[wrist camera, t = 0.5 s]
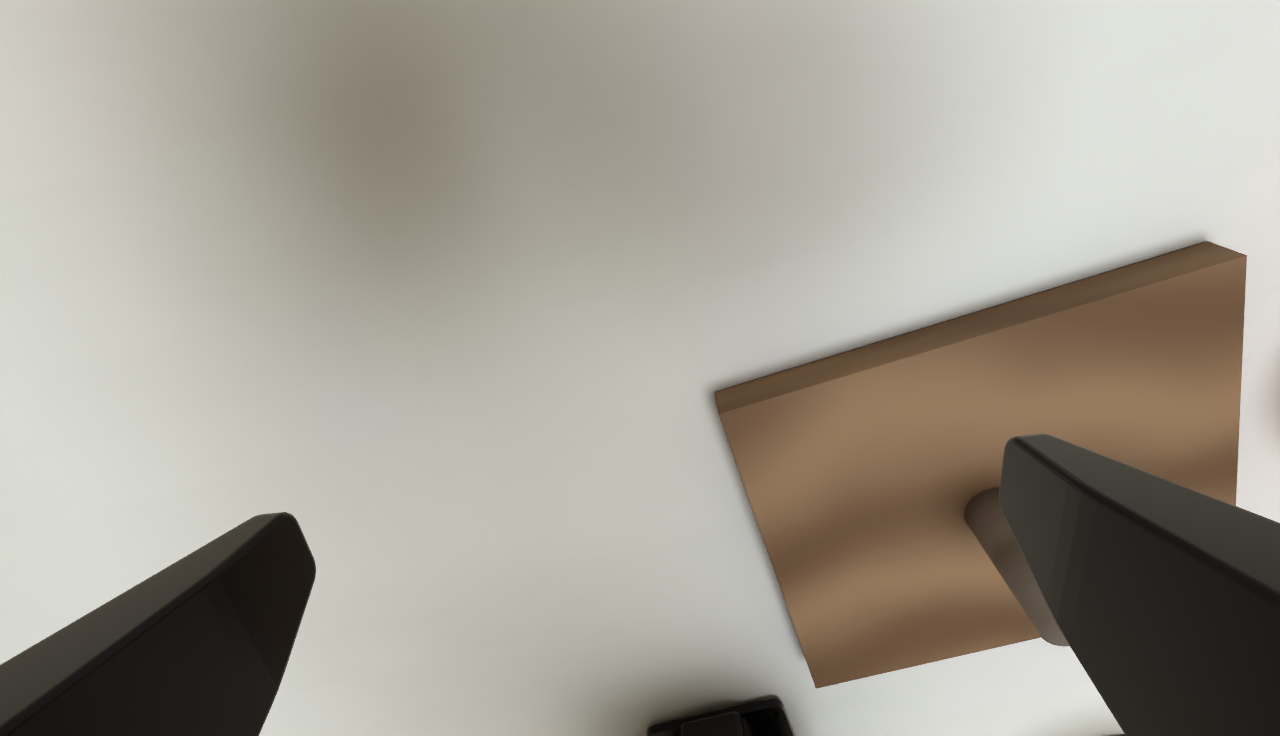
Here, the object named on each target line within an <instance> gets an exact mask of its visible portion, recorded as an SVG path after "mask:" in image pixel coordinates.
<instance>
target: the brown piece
mask: <svg viewBox="0 0 1280 736" xmlns="http://www.w3.org/2000/svg"><path fill="white" fill-rule="evenodd" d="M1246 259H1247V255H1244V254H1241V253H1238V252H1236V251H1233V250H1230V249H1227V248H1225V247H1222V246H1219V245H1217V244H1214V243H1211V242H1208V241H1207V242H1204V243H1201V244H1197V245H1194V246H1191V247H1188V248H1184V249H1181V250H1178V251H1175V252H1171V253H1168V254H1165V255H1161V256H1158V257H1155V258H1152V259H1148V260H1145V261H1142V262H1139V263H1135V264H1132V265H1129V266H1126V267H1122V268H1119V269H1116V270H1112V271H1109V272H1106V273H1103V274H1099V275H1096V276H1093V277H1090V278H1086V279H1083V280H1080V281H1077V282H1073V283H1070V284H1067V285H1063V286H1060V287H1057V288H1054V289H1050V290H1047V291H1044V292H1041V293H1037V294H1034V295H1031V296H1028V297H1024V298H1021V299H1018V300H1014V301H1011V302H1008V303H1005V304H1001V305H998V306H995V307H992V308H988V309H985V310H982V311H979V312H975V313H972V314H969V315H965V316H962V317H959V318H956V319H952V320H949V321H946V322H943V323H939V324H936V325H933V326H930V327H926V328H923V329H920V330H916V331H913V332H910V333H907V334H903V335H900V336H897V337H894V338H890V339H887V340H884V341H881V342H877V343H874V344H871V345H867V346H864V347H861V348H858V349H854V350H851V351H848V352H845V353H841V354H838V355H835V356H832V357H828V358H825V359H822V360H818V361H815V362H812V363H809V364H805V365H802V366H799V367H796V368H792V369H789V370H786V371H783V372H779V373H776V374H773V375H769V376H766V377H763V378H760V379H756V380H753V381H750V382H747V383H743V384H740V385H737V386H734V387H730V388H727V389H724V390H720V391H717V392H715V397H716V402H717V407H718V413H719V416H720V419H721V422H722V425H723V427H724V430H725V433H726V436H727V439H728V442H729V444H730V447H731V450H732V453H733V456H734V458H735V461H736V464H737V467H738V470H739V473H740V475H741V478H742V481H743V484H744V487H745V490H746V492H747V495H748V498H749V501H750V504H751V506H752V509H753V512H754V515H755V518H756V521H757V523H758V526H759V529H760V532H761V535H762V537H763V540H764V543H765V546H766V549H767V552H768V554H769V557H770V560H771V563H772V566H773V568H774V571H775V574H776V577H777V580H778V583H779V585H780V588H781V591H782V594H783V597H784V600H785V602H786V605H787V608H788V611H789V614H790V616H791V619H792V622H793V625H794V628H795V631H796V633H797V636H798V639H799V642H800V645H801V647H802V650H803V653H804V656H805V659H806V662H807V664H808V667H809V670H810V673H811V676H812V678H813V681H814V684H815V687H816V688H820V687H825V686H829V685H833V684H838V683H842V682H847V681H851V680H855V679H860V678H864V677H869V676H873V675H877V674H882V673H886V672H891V671H895V670H899V669H904V668H908V667H913V666H917V665H921V664H926V663H930V662H935V661H939V660H943V659H948V658H952V657H957V656H961V655H965V654H970V653H974V652H979V651H983V650H987V649H992V648H996V647H1001V646H1005V645H1009V644H1014V643H1018V642H1022V641H1027V640H1031V639H1036V638H1040V637H1042V638H1043V639H1044V640H1045V641H1047V642H1048V643H1050V644H1053V645H1058V646H1070V645H1069V643H1068V642H1067V640H1066V638H1065V637H1064V635H1063V633H1062V632H1061V630H1060V628H1059V627H1058V625H1057V623H1056V621H1055V619H1054V617H1053V615H1052V613H1051V612H1050V610H1049V608H1048V606H1047V604H1046V602H1045V600H1044V598H1043V595H1042V593H1041V591H1040V589H1039V587H1038V585H1037V583H1036V581H1035V579H1034V577H1033V575H1032V573H1031V570H1030V568H1029V566H1028V564H1027V562H1026V560H1025V558H1024V556H1023V554H1022V552H1021V550H1020V548H1019V546H1018V543H1017V541H1016V539H1015V537H1014V535H1013V533H1012V531H1011V529H1010V527H1009V525H1008V523H1007V521H1006V518H1005V516H1004V514H1003V512H1002V509H1001V506H1000V501H999V488H1000V480H1001V471H1002V463H1003V455H1004V449H1005V445H1006V443H1007V441H1008V440H1009V439H1010V438H1012V437H1014V436H1022V435H1031V434H1040V433H1042V434H1049V435H1052V436H1054V437H1057V438H1059V439H1062V440H1065V441H1067V442H1070V443H1072V444H1075V445H1078V446H1080V447H1083V448H1085V449H1088V450H1091V451H1093V452H1096V453H1098V454H1101V455H1104V456H1106V457H1109V458H1111V459H1114V460H1117V461H1119V462H1122V463H1124V464H1127V465H1130V466H1132V467H1135V468H1137V469H1140V470H1143V471H1145V472H1148V473H1150V474H1153V475H1156V476H1158V477H1161V478H1164V479H1166V480H1169V481H1171V482H1174V483H1177V484H1179V485H1182V486H1184V487H1187V488H1190V489H1192V490H1195V491H1197V492H1200V493H1203V494H1205V495H1208V496H1210V497H1213V498H1216V499H1218V500H1221V501H1223V502H1226V503H1229V504H1231V505H1234V506H1236V486H1237V464H1238V441H1239V418H1240V395H1241V373H1242V350H1243V327H1244V304H1245V282H1246Z"/></svg>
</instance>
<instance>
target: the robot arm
mask: <svg viewBox="0 0 1280 736" xmlns="http://www.w3.org/2000/svg"><path fill="white" fill-rule="evenodd" d="M999 501H1000V506H1001V509H1002V512H1003V514H1004V516H1005V518H1006V521H1007V523H1008V525H1009V527H1010V529H1011V531H1012V533H1013V535H1014V537H1015V539H1016V541H1017V543H1018V546H1019V548H1020V550H1021V552H1022V554H1023V556H1024V558H1025V560H1026V562H1027V564H1028V566H1029V568H1030V570H1031V573H1032V575H1033V577H1034V579H1035V581H1036V583H1037V585H1038V587H1039V589H1040V591H1041V593H1042V595H1043V598H1044V600H1045V602H1046V604H1047V606H1048V608H1049V610H1050V612H1051V613H1052V615H1053V617H1054V619H1055V621H1056V623H1057V625H1058V627H1059V628H1060V630H1061V632H1062V633H1063V635H1064V637H1065V638H1066V640H1067V642H1068V643H1069V645H1070V647H1071V648H1072V650H1073V651H1074V653H1075V655H1076V656H1077V658H1078V659H1079V661H1080V663H1081V664H1082V666H1083V667H1084V669H1085V671H1086V672H1087V674H1088V675H1089V677H1090V679H1091V680H1092V682H1093V684H1094V685H1095V687H1096V688H1097V690H1098V692H1099V693H1100V695H1101V696H1102V698H1103V700H1104V701H1105V703H1106V704H1107V706H1108V708H1109V709H1110V711H1111V712H1112V714H1113V716H1114V717H1115V719H1116V720H1117V722H1118V724H1119V725H1120V727H1121V728H1122V730H1123V732H1124V733H1125V735H1126V736H1280V523H1278V522H1275V521H1273V520H1270V519H1268V518H1265V517H1262V516H1260V515H1257V514H1255V513H1252V512H1249V511H1247V510H1244V509H1242V508H1239V507H1236V506H1234V505H1231V504H1229V503H1226V502H1223V501H1221V500H1218V499H1216V498H1213V497H1210V496H1208V495H1205V494H1203V493H1200V492H1197V491H1195V490H1192V489H1190V488H1187V487H1184V486H1182V485H1179V484H1177V483H1174V482H1171V481H1169V480H1166V479H1164V478H1161V477H1158V476H1156V475H1153V474H1150V473H1148V472H1145V471H1143V470H1140V469H1137V468H1135V467H1132V466H1130V465H1127V464H1124V463H1122V462H1119V461H1117V460H1114V459H1111V458H1109V457H1106V456H1104V455H1101V454H1098V453H1096V452H1093V451H1091V450H1088V449H1085V448H1083V447H1080V446H1078V445H1075V444H1072V443H1070V442H1067V441H1065V440H1062V439H1059V438H1057V437H1054V436H1052V435H1049V434H1042V433H1040V434H1031V435H1022V436H1014V437H1012V438H1010V439H1009V440H1008V441H1007V443H1006V445H1005V449H1004V455H1003V463H1002V471H1001V480H1000V488H999ZM315 574H316V566H315V561H314V558H313V555H312V553H311V551H310V549H309V546H308V544H307V542H306V540H305V537H304V535H303V533H302V531H301V528H300V526H299V524H298V522H297V520H296V518H295V517H294V516H293V515H291V514H289V513H287V512H282V513H272V514H262V515H257V516H255V517H253V518H251V519H249V520H247V521H246V522H244V523H242V524H240V525H239V526H237V527H235V528H234V529H232V530H230V531H229V532H227V533H225V534H223V535H222V536H220V537H218V538H217V539H215V540H213V541H211V542H210V543H208V544H206V545H205V546H203V547H201V548H199V549H198V550H196V551H194V552H193V553H191V554H189V555H187V556H186V557H184V558H182V559H181V560H179V561H177V562H176V563H174V564H172V565H170V566H169V567H167V568H165V569H164V570H162V571H160V572H158V573H157V574H155V575H153V576H152V577H150V578H148V579H146V580H145V581H143V582H141V583H140V584H138V585H136V586H134V587H133V588H131V589H129V590H128V591H126V592H124V593H123V594H121V595H119V596H117V597H116V598H114V599H112V600H111V601H109V602H107V603H105V604H104V605H102V606H100V607H99V608H97V609H95V610H93V611H92V612H90V613H88V614H87V615H85V616H83V617H81V618H80V619H78V620H76V621H75V622H73V623H71V624H70V625H68V626H66V627H64V628H63V629H61V630H59V631H58V632H56V633H54V634H52V635H51V636H49V637H47V638H46V639H44V640H42V641H40V642H39V643H37V644H35V645H34V646H32V647H30V648H28V649H27V650H25V651H23V652H22V653H20V654H18V655H17V656H15V657H13V658H11V659H10V660H8V661H6V662H5V663H3V664H1V665H0V736H259V734H260V731H261V729H262V727H263V724H264V722H265V720H266V718H267V715H268V713H269V711H270V708H271V706H272V704H273V701H274V699H275V696H276V694H277V691H278V689H279V686H280V683H281V680H282V678H283V675H284V672H285V669H286V666H287V663H288V660H289V657H290V654H291V651H292V648H293V645H294V642H295V639H296V636H297V632H298V629H299V626H300V623H301V620H302V617H303V614H304V611H305V608H306V605H307V602H308V599H309V596H310V593H311V590H312V587H313V584H314V580H315ZM647 736H795V734H794V731H793V729H792V726H791V724H790V721H789V719H788V716H787V713H786V711H785V708H784V706H783V704H782V702H781V701H779V700H776V699H769V700H764V701H760V702H756V703H751V704H747V705H742V706H738V707H734V708H729V709H725V710H720V711H716V712H712V713H707V714H703V715H698V716H694V717H690V718H685V719H681V720H676V721H672V722H668V723H663V724H659V725H654V726H651V727H650V728H648V729H647Z"/></svg>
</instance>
